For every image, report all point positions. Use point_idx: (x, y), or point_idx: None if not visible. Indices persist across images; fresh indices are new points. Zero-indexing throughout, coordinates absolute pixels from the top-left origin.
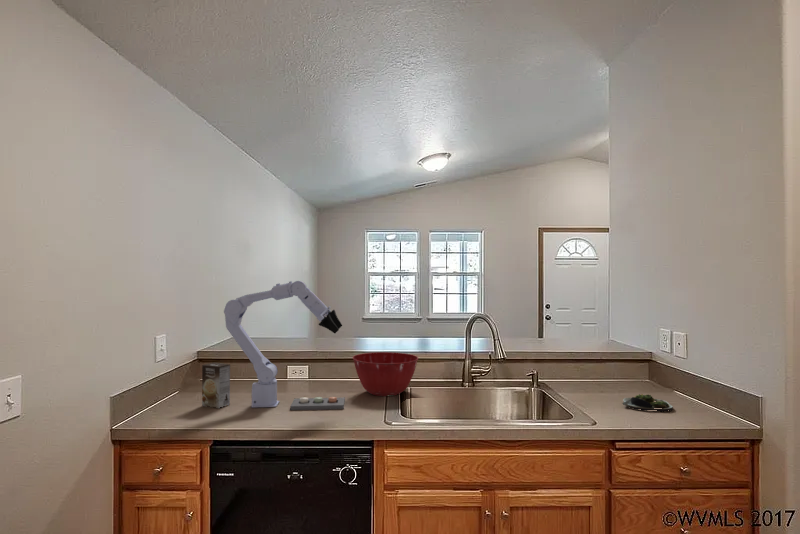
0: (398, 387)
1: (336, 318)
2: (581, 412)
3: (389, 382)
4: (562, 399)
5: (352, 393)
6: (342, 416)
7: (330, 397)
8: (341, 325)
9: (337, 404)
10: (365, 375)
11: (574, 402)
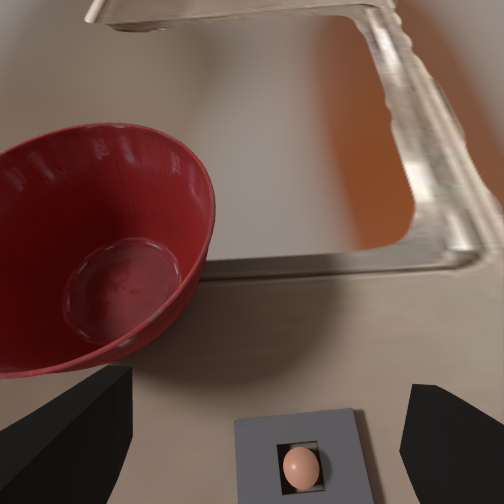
0: (186, 232)
1: (20, 490)
2: (310, 9)
3: (202, 244)
4: (231, 17)
5: None
6: None
7: (296, 480)
8: (126, 375)
9: (346, 436)
10: (172, 319)
11: (250, 9)
